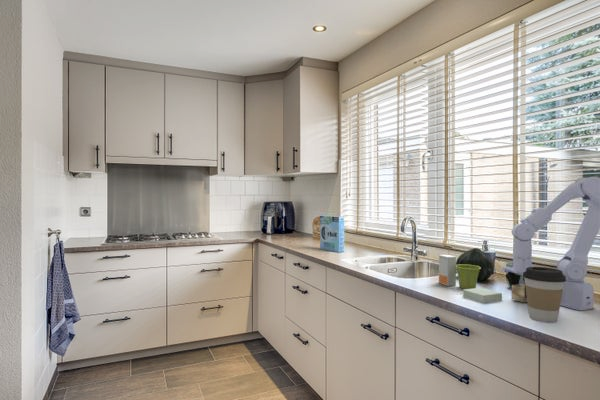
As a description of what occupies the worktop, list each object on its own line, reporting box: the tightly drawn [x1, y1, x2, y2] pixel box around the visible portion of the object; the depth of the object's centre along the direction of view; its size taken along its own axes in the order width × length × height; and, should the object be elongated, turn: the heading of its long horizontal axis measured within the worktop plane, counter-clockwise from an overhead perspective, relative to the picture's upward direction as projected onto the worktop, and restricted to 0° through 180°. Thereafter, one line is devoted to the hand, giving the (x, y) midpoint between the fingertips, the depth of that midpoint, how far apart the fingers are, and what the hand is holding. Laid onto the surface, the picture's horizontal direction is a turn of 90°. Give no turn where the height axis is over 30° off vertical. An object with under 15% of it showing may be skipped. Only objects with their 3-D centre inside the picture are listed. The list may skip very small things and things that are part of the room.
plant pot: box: [456, 264, 481, 290], centre depth 157 cm, size 9×9×9 cm
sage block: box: [462, 287, 503, 304], centre depth 141 cm, size 9×9×3 cm
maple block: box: [511, 284, 527, 303], centre depth 138 cm, size 4×4×5 cm
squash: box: [456, 247, 494, 282], centre depth 173 cm, size 14×15×15 cm
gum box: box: [319, 215, 345, 253], centre depth 258 cm, size 20×5×23 cm, turn 36°
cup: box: [505, 261, 525, 289], centre depth 157 cm, size 8×8×10 cm
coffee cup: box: [523, 266, 566, 324], centre depth 118 cm, size 11×11×15 cm
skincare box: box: [438, 254, 457, 287], centre depth 163 cm, size 6×4×12 cm
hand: (521, 295), depth 138 cm, fingers closed on maple block, 4 cm apart
